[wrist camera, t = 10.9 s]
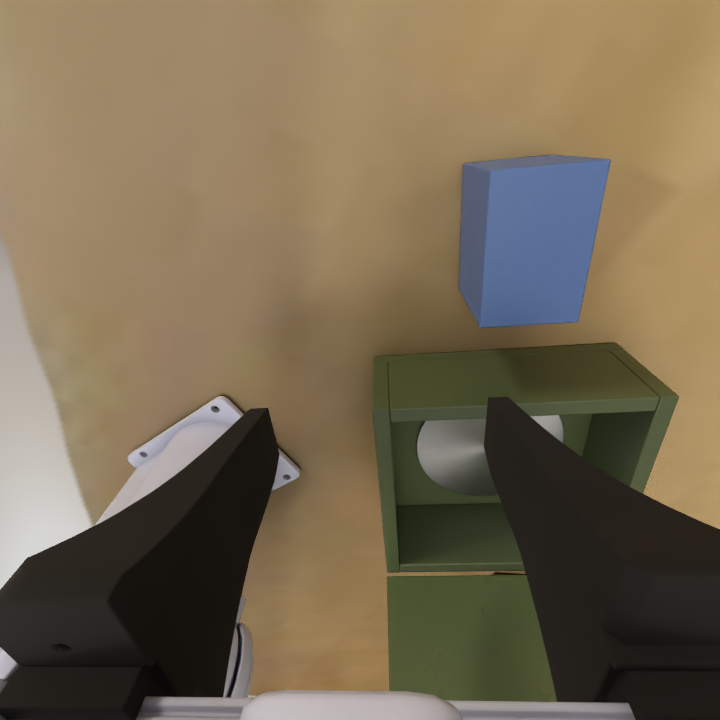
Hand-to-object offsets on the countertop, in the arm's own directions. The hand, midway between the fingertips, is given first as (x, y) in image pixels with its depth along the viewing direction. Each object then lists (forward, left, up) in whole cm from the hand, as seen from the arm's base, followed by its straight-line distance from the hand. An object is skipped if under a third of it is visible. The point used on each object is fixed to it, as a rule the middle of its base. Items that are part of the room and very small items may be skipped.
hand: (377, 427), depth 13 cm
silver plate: (+1, -11, -10) cm, 15 cm away
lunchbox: (+1, -11, -10) cm, 15 cm away
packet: (+8, 0, -10) cm, 12 cm away
